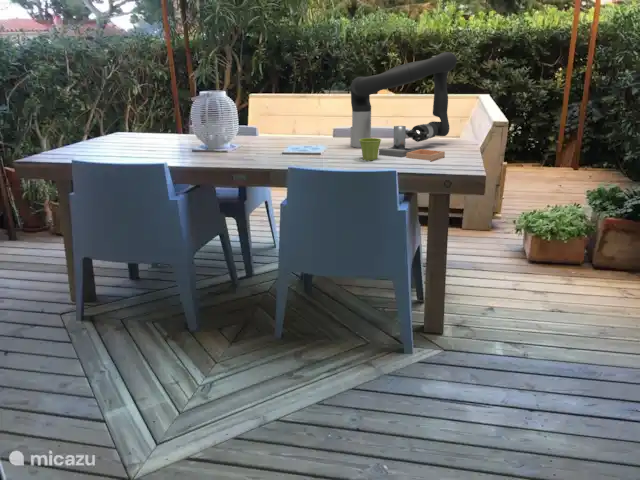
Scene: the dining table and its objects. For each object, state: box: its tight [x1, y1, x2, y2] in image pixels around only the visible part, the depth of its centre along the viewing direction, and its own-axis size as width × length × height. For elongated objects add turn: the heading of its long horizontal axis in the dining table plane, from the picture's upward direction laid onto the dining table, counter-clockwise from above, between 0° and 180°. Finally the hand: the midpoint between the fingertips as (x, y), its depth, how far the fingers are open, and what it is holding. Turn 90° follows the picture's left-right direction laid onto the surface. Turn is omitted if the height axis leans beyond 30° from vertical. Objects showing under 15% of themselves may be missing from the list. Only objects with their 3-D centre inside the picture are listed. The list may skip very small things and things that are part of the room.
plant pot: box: [359, 137, 382, 162], centre depth 234 cm, size 9×9×9 cm
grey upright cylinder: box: [392, 125, 407, 150], centre depth 243 cm, size 5×5×12 cm
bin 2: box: [405, 148, 446, 163], centre depth 235 cm, size 12×12×3 cm
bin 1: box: [378, 146, 417, 158], centre depth 244 cm, size 12×12×3 cm
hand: (404, 136), depth 246 cm, fingers open, 8 cm apart
